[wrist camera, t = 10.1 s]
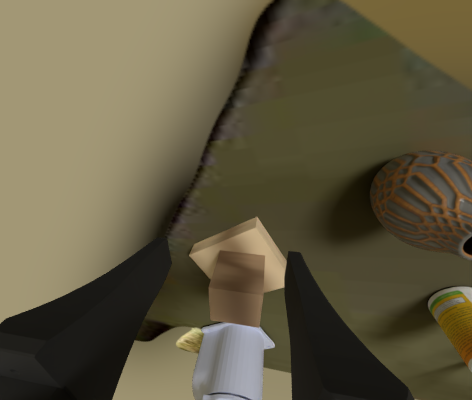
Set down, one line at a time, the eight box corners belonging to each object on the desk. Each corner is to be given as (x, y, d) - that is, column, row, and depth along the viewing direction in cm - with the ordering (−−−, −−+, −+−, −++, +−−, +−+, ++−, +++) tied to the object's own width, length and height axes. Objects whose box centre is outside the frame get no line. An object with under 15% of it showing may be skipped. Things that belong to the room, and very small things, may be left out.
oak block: (233, 286, 30) (230, 302, 28) (195, 241, 27) (189, 255, 25) (292, 267, 27) (294, 284, 25) (257, 214, 24) (255, 227, 22)
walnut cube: (220, 280, 26) (210, 320, 22) (220, 250, 24) (208, 287, 20) (261, 286, 26) (259, 327, 22) (265, 255, 23) (263, 295, 19)
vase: (417, 219, 21) (499, 299, 13) (346, 203, 21) (387, 273, 14) (468, 151, 17) (620, 206, 10) (382, 133, 18) (465, 173, 10)
